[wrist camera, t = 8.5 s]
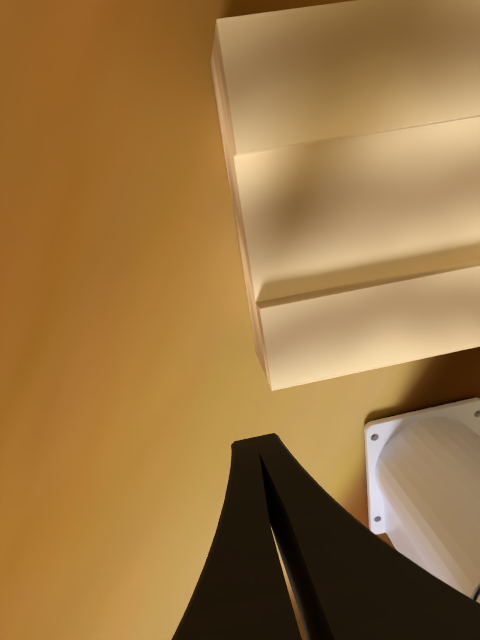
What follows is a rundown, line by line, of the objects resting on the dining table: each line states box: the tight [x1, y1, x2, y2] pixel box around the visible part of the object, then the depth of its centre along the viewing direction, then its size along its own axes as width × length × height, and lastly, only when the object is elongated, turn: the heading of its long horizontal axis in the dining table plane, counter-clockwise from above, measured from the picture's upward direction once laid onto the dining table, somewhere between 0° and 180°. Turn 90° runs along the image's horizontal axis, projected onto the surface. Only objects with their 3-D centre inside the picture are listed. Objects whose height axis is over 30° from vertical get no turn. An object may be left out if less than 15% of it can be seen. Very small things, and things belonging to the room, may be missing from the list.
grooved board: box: [210, 0, 480, 391], centre depth 16 cm, size 14×16×4 cm
